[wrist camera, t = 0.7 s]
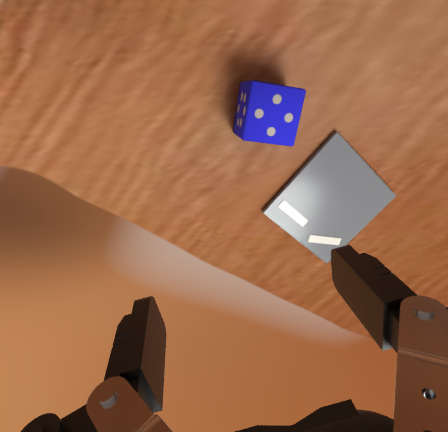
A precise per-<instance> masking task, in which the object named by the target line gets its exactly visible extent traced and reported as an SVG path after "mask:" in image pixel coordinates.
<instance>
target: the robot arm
mask: <svg viewBox="0 0 448 432" xmlns="http://www.w3.org/2000/svg"><path fill="white" fill-rule="evenodd" d="M331 265H332V278H333V282H334V285H335V287H336V289H337V291H338V292H339V294H340V295H341V296H342V298H343V299H344V300H345V302H346V303H347V304H348V306H349V307H350V308H351V310H352V311H353V312H354V314H355V315H356V316H357V317H358V319H359V320H360V321H361V323H362V324H363V325H364V327H365V328H366V329H367V331H368V332H369V333H370V335H371V336H372V337H373V339H374V340H375V341H376V343H377V344H378V345H379V347H380V348H381V349H382V351H383V350H387V349H390V348H393V349H394V350H395V351H396V352H397V368H396V386H395V402H394V419H391V418H389V417H387V416H384V415H381V414H379V413H375V412H372V411H366V410H356V408H355V406H354V404H353V403H352V401H351V399H350V400H346V401H343V402H339V403H335V404H332V405H328V406H325V407H321V408H319V409H318V410H316V411H314V412H313V413H311V414H310V415H308V416H307V417H305V418H303V419H302V420H300V421H299V422H297V423H296V424H294V425H291V426H267V425H266V426H265V425H260V426H259V425H257V426H253V427H250V428H247V429H243V430H240V431H235V432H448V307H445V306H444V305H443V304H442V303H440V302H439V301H437V300H435V299H432V298H429V297H425V296H418V295H417V294H415V293H414V292H413V291H412V290H411V289H410V288H409V287H408V286H407V285H405V284H404V283H403V282H402V281H401V280H400V279H399V278H398V277H397V276H395V275H394V274H393V273H391V271H390V270H389V269H388V268H387V267H385V266H384V265H383V264H382V263H381V262H380V261H379V260H378V259H377V258H375V257H373V256H370V255H368V254H366V253H361V254H359V253H358V252H356V251H355V250H354V249H353V248H352V247H351V246H350V245H346V246H342V247H338V248H334V249H332V250H331ZM165 349H166V328H165V324H164V321H163V318H162V316H161V314H160V312H159V309H158V306H157V304H156V301H155V299H154V297H152V296H150V297H146V298H142V299H139V300H135V301H134V305H133V310H132V314H129V315H125V316H124V317H123V319H122V320H121V322H120V323H119V325H118V327H117V331H116V334H115V339H114V342H113V348H112V350H111V354H110V358H109V362H108V366H107V370H106V374H105V378H104V381H103V382H102V383H100V384H99V385H98V386H97V387H96V388H95V389H94V390H93V391H92V393H91V395H90V396H89V398H88V401H87V404H86V405H84V406H83V407H81V408H79V409H78V410H76V411H74V412H72V413H71V414H69V415H67V416H65V417H64V418H62V419H60V418H59V417H58V416H57V415H56V414H52V413H47V414H43V415H41V416H39V417H37V418H35V419H34V420H33V421H31V422H30V423H29V424H28V425H26V426H25V427H24V428H23V430H22V431H21V432H172V431H171V429H170V428H169V427H168V426H167V425H166V424H165V422H164V421H163V420H162V419H161V418H160V416H158V415H155V414H154V413H155V412H158V411H162V405H163V387H164V368H165Z"/></svg>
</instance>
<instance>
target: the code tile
mask: <svg viewBox="0 0 448 432" xmlns="http://www.w3.org/2000/svg"><path fill="white" fill-rule="evenodd" d="M395 197H396V195H395V194H394V193H393V192H392V191H391V189H390V188H389V187H388V186H387V185H386V184H385V183H384V182H383V181H382V180H381V179H380V178H379V176H378V175H377V174H376V173H375V172H374V171H373V170H372V169H371V168H370V167H369V166H368V165H367V164H366V162H365V161H364V160H363V159H362V158H361V157H360V156H359V155H358V154H357V153H356V152H355V151H354V149H353V148H352V147H351V146H350V145H349V144H348V143H347V142H346V141H345V140H344V139H343V138H342V136H341V135H340V134H339V133H338V132H334V133H333V134H332V135H331V136H330V137H329V138H328V139H327V140H326V142H325V143H324V144H323V145H322V146H321V147H320V148H319V149H318V150H317V151H316V153H315V154H314V155H313V156H312V157H311V158H310V159H309V160H308V161H307V162H306V163H305V165H304V166H303V167H302V168H301V169H300V170H299V171H298V172H297V173H296V174H295V176H294V177H293V178H292V179H291V180H290V181H289V182H288V183H287V184H286V185H285V186H284V188H283V189H282V190H281V191H280V192H279V193H278V194H277V195H276V196H275V197H274V199H273V200H272V201H271V202H270V203H269V204H268V205H267V206H266V207H265V208H264V209H263V211H262V212H263V213H264V214H265V215H266V216H268V217H269V218H270V219H271V220H273V221H274V222H275V223H276V224H278V225H279V226H280V227H281V228H283V229H284V230H285V231H286V232H288V233H289V234H290V235H291V236H293V237H294V238H295V239H296V240H298V241H299V242H300V243H302V244H303V245H304V246H305V247H307V248H308V249H309V250H310V251H312V252H313V253H314V254H315V255H317V256H318V257H319V258H320V259H322V260H323V261H324V262H325V263H328V262H329V261H330V260H331V250H332V249H334V248H338V247H342V246H345V245H346V244H347V243H348V242H349V241H350V240H351V239H352V238H353V237H354V236H356V235H357V234H358V233H359V232H360V231H361V230H362V229H363V228H364V227H365V226H366V225H367V224H368V223H369V222H370V221H371V220H372V219H373V218H374V217H375V216H376V215H377V214H378V213H379V212H380V211H381V210H382V209H383V208H384V207H385V206H386V205H387V204H388V203H389V202H390V201H391V200H393V199H394V198H395Z"/></svg>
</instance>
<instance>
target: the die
mask: <svg viewBox="0 0 448 432" xmlns="http://www.w3.org/2000/svg"><path fill="white" fill-rule="evenodd" d="M305 93H306V90H305V89H301V88H295V87H289V86H283V85H277V84H271V83H265V82H259V81H242V82H241V83H240V88H239V94H238V101H237V108H236V115H235V121H234V128H233V132H234V133H235V134H236V135H237V136H239V137H240V138H241V139H242V140H245V141H253V142H261V143H269V144H277V145H285V146H293V145H294V141H295V137H296V133H297V128H298V124H299V119H300V115H301V111H302V106H303V102H304V98H305Z"/></svg>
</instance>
